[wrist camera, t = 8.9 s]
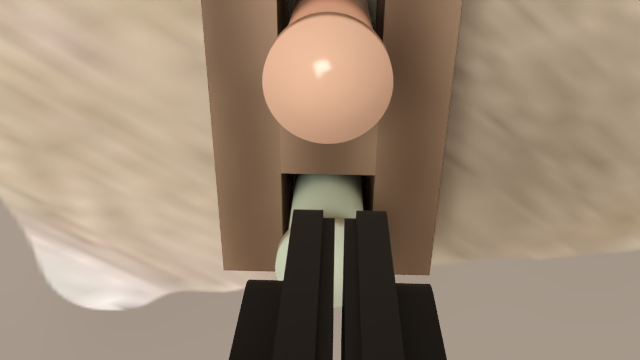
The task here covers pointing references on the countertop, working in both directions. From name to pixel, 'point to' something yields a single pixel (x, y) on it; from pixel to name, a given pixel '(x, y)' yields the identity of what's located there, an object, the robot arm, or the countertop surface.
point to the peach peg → (328, 72)
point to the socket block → (340, 158)
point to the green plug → (325, 215)
